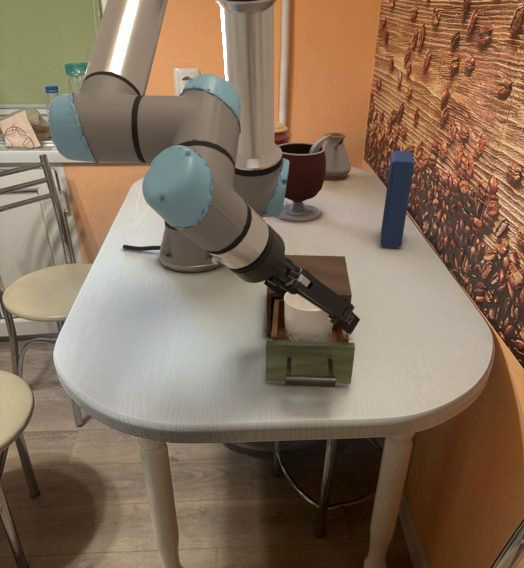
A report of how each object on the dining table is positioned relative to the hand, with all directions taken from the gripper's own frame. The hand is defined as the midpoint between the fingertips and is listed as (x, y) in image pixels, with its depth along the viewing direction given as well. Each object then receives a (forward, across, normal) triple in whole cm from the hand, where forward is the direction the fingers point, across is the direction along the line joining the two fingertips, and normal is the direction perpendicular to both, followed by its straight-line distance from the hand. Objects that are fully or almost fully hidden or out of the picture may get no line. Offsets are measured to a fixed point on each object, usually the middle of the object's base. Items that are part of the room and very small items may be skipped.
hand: (320, 309), depth 84 cm
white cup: (+3, 0, -7) cm, 8 cm away
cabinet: (+12, -10, 0) cm, 16 cm away
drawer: (+2, +2, -9) cm, 9 cm away
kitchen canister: (+52, -84, +40) cm, 107 cm away
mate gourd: (+39, -50, +26) cm, 69 cm away
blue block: (+41, -22, +28) cm, 54 cm away
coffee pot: (+60, -64, +48) cm, 100 cm away
